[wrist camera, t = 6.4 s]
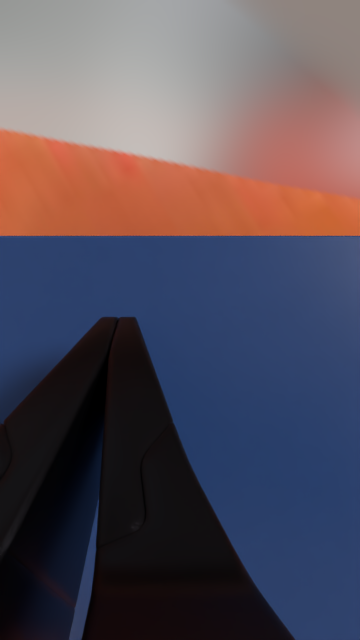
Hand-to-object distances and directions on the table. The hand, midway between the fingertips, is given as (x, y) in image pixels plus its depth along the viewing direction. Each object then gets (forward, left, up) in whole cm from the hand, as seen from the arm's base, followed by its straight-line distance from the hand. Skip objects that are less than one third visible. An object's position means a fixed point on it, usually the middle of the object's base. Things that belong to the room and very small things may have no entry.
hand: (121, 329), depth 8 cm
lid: (-3, -2, -2) cm, 4 cm away
